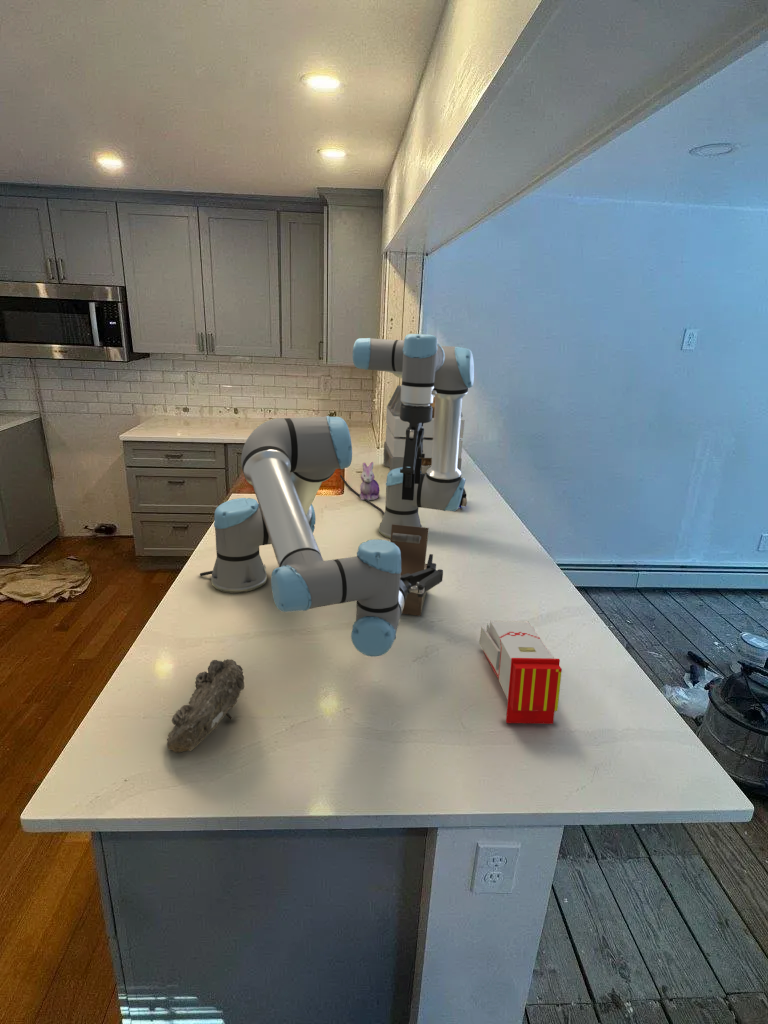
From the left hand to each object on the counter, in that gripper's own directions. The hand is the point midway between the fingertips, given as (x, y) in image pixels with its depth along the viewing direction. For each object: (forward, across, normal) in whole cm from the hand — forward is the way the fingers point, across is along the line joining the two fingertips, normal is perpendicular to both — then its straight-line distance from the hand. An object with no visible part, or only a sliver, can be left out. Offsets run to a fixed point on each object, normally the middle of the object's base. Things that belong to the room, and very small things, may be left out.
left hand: (401, 556), depth 131 cm
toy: (-12, +27, -21) cm, 36 cm away
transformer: (+145, -11, -21) cm, 147 cm away
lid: (+13, 0, -5) cm, 14 cm away
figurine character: (+101, +9, -21) cm, 104 cm away
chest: (+17, 0, -21) cm, 27 cm away
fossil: (-37, -30, -21) cm, 52 cm away
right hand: (+12, 0, +12) cm, 17 cm away
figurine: (+101, -27, -21) cm, 107 cm away
